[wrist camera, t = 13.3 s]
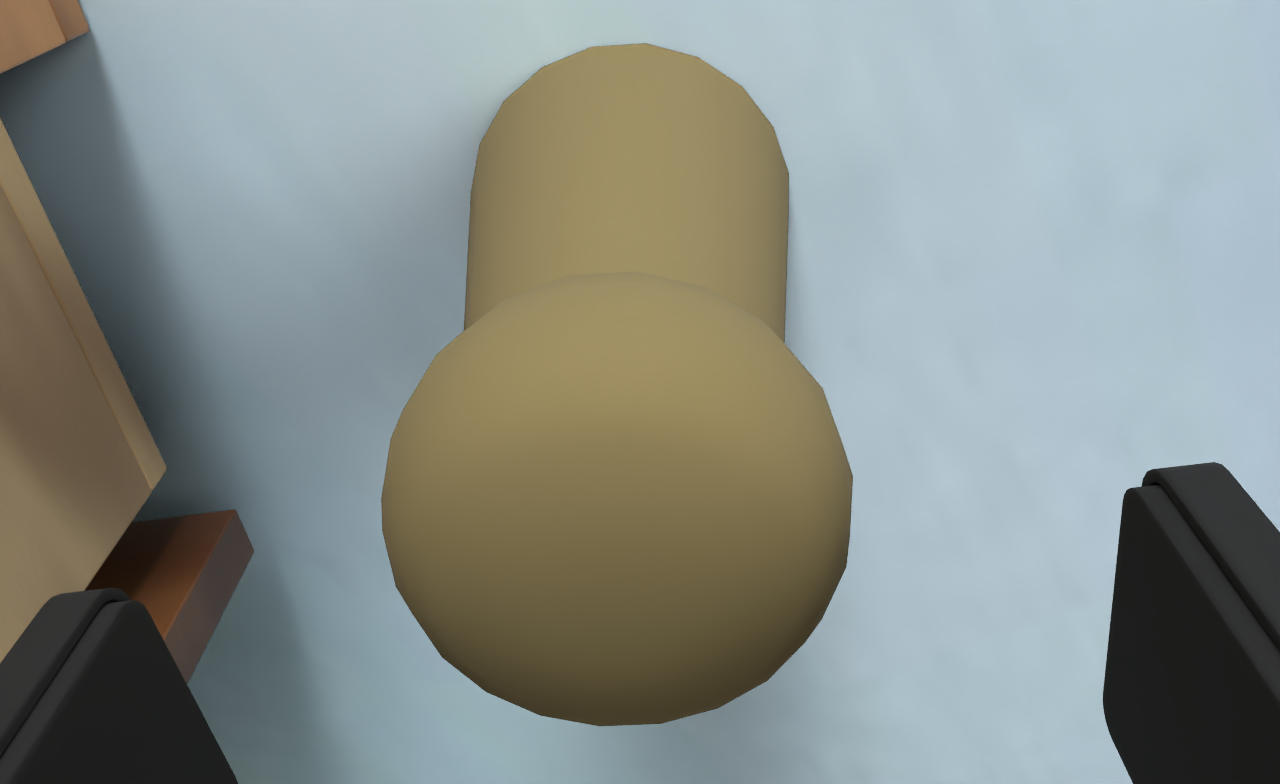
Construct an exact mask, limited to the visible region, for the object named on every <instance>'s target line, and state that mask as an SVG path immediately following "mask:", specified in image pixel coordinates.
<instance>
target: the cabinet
mask: <svg viewBox="0 0 1280 784" xmlns="http://www.w3.org/2000/svg"><path fill="white" fill-rule="evenodd" d="M87 32H89V26H88V24H87V21H86V19H85V16H84V14H83V11H82V9H81V7H80V4H79V2H78V0H0V74H1V73H3V72H6V71H8V70H10V69H12V68H14V67H16V66H18V65H21V64H23V63H25V62H27V61H29V60H31V59H33V58H35V57H38V56H40V55H42V54H44V53H46V52H48V51H50V50H53V49H55V48H57V47H59V46H61V45H63V44H65V43H67V42H69V41H71V40H73V39H75V38H77V37H79V36H81V35H84V34H86V33H87Z"/></svg>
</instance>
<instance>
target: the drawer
mask: <svg viewBox="0 0 1280 784" xmlns="http://www.w3.org/2000/svg"><path fill="white" fill-rule="evenodd" d="M166 471H167V467H166V465H165V462H164V460H163V458H162V456H161V454H160V452H159V450H158V448H157V446H156V444H155V441H154V439H153V437H152V435H151V433H150V431H149V429H148V427H147V425H146V423H145V420H144V418H143V416H142V414H141V412H140V410H139V408H138V406H137V404H136V402H135V399H134V397H133V395H132V393H131V391H130V389H129V387H128V385H127V383H126V381H125V378H124V376H123V374H122V372H121V370H120V368H119V366H118V364H117V362H116V360H115V357H114V355H113V353H112V351H111V349H110V347H109V345H108V343H107V341H106V339H105V336H104V334H103V332H102V330H101V328H100V326H99V324H98V322H97V320H96V318H95V315H94V313H93V311H92V309H91V307H90V305H89V303H88V301H87V299H86V297H85V294H84V292H83V290H82V288H81V286H80V284H79V282H78V280H77V278H76V276H75V273H74V271H73V269H72V267H71V265H70V263H69V261H68V259H67V257H66V255H65V252H64V250H63V248H62V246H61V244H60V242H59V240H58V238H57V236H56V234H55V231H54V229H53V227H52V225H51V223H50V221H49V219H48V217H47V215H46V213H45V210H44V208H43V206H42V204H41V202H40V200H39V198H38V196H37V194H36V192H35V189H34V187H33V185H32V183H31V181H30V179H29V177H28V175H27V173H26V171H25V168H24V166H23V164H22V162H21V160H20V158H19V156H18V154H17V152H16V150H15V147H14V145H13V143H12V141H11V139H10V137H9V135H8V133H7V131H6V129H5V126H4V124H3V122H2V120H1V118H0V663H1V661H2V660H3V659H4V657H5V656H6V655H7V653H8V652H9V651H10V649H11V648H12V647H13V645H14V644H15V643H16V641H17V640H18V639H19V637H20V636H21V634H22V633H23V632H24V630H25V629H26V628H27V626H28V625H29V624H30V622H31V621H32V620H33V618H34V617H35V616H36V614H37V613H38V612H39V610H40V609H41V608H42V606H43V605H44V604H45V603H46V602H47V601H48V600H49V599H50V598H51V597H53V596H56V595H58V594H62V593H71V592H79V591H88V590H97V589H106V588H117V589H120V590H122V591H123V592H125V593H127V595H128V596H129V597H130V599H131V600H133V601H139V602H141V603H142V604H144V606H145V607H146V609H147V610H148V611H149V613H150V615H151V617H152V619H153V621H154V623H155V625H156V627H157V629H158V631H159V632H160V634H161V636H162V638H163V640H164V642H165V644H166V646H167V648H168V650H169V651H170V653H171V655H172V657H173V659H174V661H175V663H176V665H177V667H178V669H179V670H180V672H181V674H182V676H183V678H184V680H185V682H186V684H188V682H189V680H190V678H191V676H192V674H193V672H194V670H195V668H196V666H197V664H198V662H199V660H200V658H201V656H202V654H203V652H204V650H205V648H206V646H207V644H208V642H209V640H210V638H211V636H212V634H213V632H214V630H215V628H216V626H217V624H218V622H219V620H220V619H221V617H222V615H223V613H224V611H225V609H226V607H227V605H228V603H229V601H230V599H231V597H232V595H233V593H234V591H235V589H236V587H237V585H238V583H239V581H240V579H241V577H242V575H243V573H244V571H245V569H246V567H247V565H248V563H249V561H250V559H251V557H252V555H253V553H254V549H253V547H252V544H251V542H250V540H249V538H248V535H247V533H246V531H245V529H244V526H243V524H242V522H241V520H240V517H239V515H238V513H237V511H236V510H226V511H218V512H210V513H202V514H194V515H186V516H178V517H170V518H161V519H153V520H145V521H137V522H132V521H133V519H134V518H135V516H136V515H137V514H138V512H139V511H140V509H141V508H142V506H143V505H144V503H145V502H146V500H147V499H148V497H149V496H150V495H151V491H152V490H153V489H154V488H155V487H156V485H157V484H158V482H159V481H160V480H161V478H162V477H163V475H164V474H165V472H166Z"/></svg>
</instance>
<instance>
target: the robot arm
mask: <svg viewBox="0 0 1280 784" xmlns="http://www.w3.org/2000/svg"><path fill="white" fill-rule="evenodd" d="M1103 707H1104V714H1105V719H1106V723H1107V726H1108V730H1109V733H1110V735H1111V738H1112V740H1113V742H1114V744H1115V746H1116V748H1117V750H1118V753H1119V755H1120V757H1121V759H1122V761H1123V763H1124V765H1125V767H1126V769H1127V772H1128V774H1129V776H1130V778H1131V780H1132V782H1133V784H1280V532H1279V531H1278V530H1277V529H1276V527H1275V526H1274V525H1273V524H1272V522H1271V521H1270V520H1269V519H1268V518H1267V516H1266V515H1265V514H1264V513H1263V512H1262V510H1261V509H1260V508H1259V507H1258V506H1257V504H1256V503H1255V502H1254V501H1253V500H1252V498H1251V497H1250V496H1249V495H1248V493H1247V492H1246V491H1245V490H1244V489H1243V487H1242V486H1241V485H1240V484H1239V483H1238V481H1237V480H1236V479H1235V478H1234V477H1233V475H1232V474H1231V473H1230V472H1229V471H1228V470H1227V469H1226V468H1225V467H1224V466H1223V465H1222V464H1219V463H1215V462H1212V463H1204V464H1195V465H1186V466H1177V467H1168V468H1160V469H1152V470H1150V471H1148V472H1147V473H1146V475H1145V477H1144V478H1143V482H1142V487H1136V488H1130V489H1128V490H1127V491H1126V493H1125V494H1124V499H1123V505H1122V515H1121V525H1120V534H1119V544H1118V554H1117V564H1116V573H1115V583H1114V593H1113V603H1112V612H1111V622H1110V632H1109V642H1108V651H1107V661H1106V671H1105V681H1104V691H1103ZM0 784H238V782H237V780H236V777H235V775H234V773H233V771H232V769H231V768H230V766H229V764H228V762H227V760H226V758H225V756H224V754H223V752H222V750H221V748H220V747H219V745H218V743H217V741H216V739H215V737H214V735H213V733H212V731H211V729H210V728H209V726H208V724H207V722H206V720H205V718H204V716H203V714H202V712H201V710H200V709H199V707H198V705H197V703H196V701H195V699H194V697H193V695H192V693H191V691H190V689H189V688H188V686H187V684H186V682H185V680H184V678H183V676H182V674H181V672H180V670H179V669H178V667H177V665H176V663H175V661H174V659H173V657H172V655H171V653H170V651H169V650H168V648H167V646H166V644H165V642H164V640H163V638H162V636H161V634H160V632H159V631H158V629H157V627H156V625H155V623H154V621H153V619H152V617H151V615H150V613H149V611H148V610H147V609H146V607H145V606H144V604H142V603H141V602H139V601H133V600H131V599H130V597H129V596H128V595H127V593H125V592H123V591H122V590H120V589H117V588H106V589H97V590H88V591H79V592H71V593H62V594H58V595H56V596H53V597H51V598H50V599H49V600H48V601H47V602H46V603H45V604H44V605H43V606H42V608H41V609H40V610H39V612H38V613H37V614H36V616H35V617H34V618H33V620H32V621H31V622H30V624H29V625H28V626H27V628H26V629H25V630H24V632H23V633H22V634H21V636H20V637H19V639H18V640H17V641H16V643H15V644H14V645H13V647H12V648H11V649H10V651H9V652H8V653H7V655H6V656H5V657H4V659H3V660H2V661H1V663H0Z"/></svg>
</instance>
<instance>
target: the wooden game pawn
mask: <svg viewBox="0 0 1280 784" xmlns="http://www.w3.org/2000/svg"><path fill="white" fill-rule="evenodd" d="M788 209H789V172H788V169H787V166H786V163H785V161H784V158H783V155H782V152H781V149H780V146H779V143H778V140H777V137H776V134H775V131H774V128H773V126H772V125H771V123H770V122H769V121H768V119H767V118H766V117H765V115H764V114H763V113H762V112H761V110H760V109H759V108H758V106H757V105H756V104H755V103H754V101H753V100H752V99H751V97H750V96H749V95H748V93H747V92H746V91H745V90H744V88H743V87H742V86H741V85H739V84H738V83H736V82H735V81H733V80H732V79H730V78H729V77H727V76H726V75H724V74H723V73H721V72H720V71H718V70H717V69H715V68H714V67H712V66H711V65H709V64H708V63H706V62H704V61H703V60H701V59H700V58H698V57H695V56H692V55H688V54H684V53H680V52H676V51H673V50H669V49H665V48H661V47H658V46H654V45H650V44H646V43H645V44H629V45H614V46H598V47H591V48H588V49H586V50H583V51H581V52H578V53H576V54H574V55H571V56H569V57H566V58H564V59H561V60H559V61H557V62H554V63H552V64H549V65H547V66H544V67H542V68H541V69H540V70H539V71H538V72H537V73H536V74H534V75H533V76H532V77H531V78H530V79H529V80H528V81H526V82H525V83H524V84H523V85H522V86H521V87H520V88H519V89H517V90H516V91H515V92H514V93H513V94H512V95H511V96H509V97H508V98H507V99H506V100H505V101H504V102H503V104H502V106H501V107H500V109H499V111H498V113H497V115H496V116H495V118H494V120H493V122H492V123H491V125H490V127H489V129H488V131H487V132H486V134H485V136H484V138H483V139H482V141H481V143H480V145H479V150H478V156H477V161H476V167H475V173H474V178H473V184H472V189H471V202H470V221H469V241H468V261H467V281H466V301H465V320H464V332H463V333H461V334H460V335H459V336H457V337H456V338H455V339H454V340H453V341H452V342H451V343H449V344H448V345H447V346H446V347H445V348H444V349H443V350H442V351H441V352H439V353H438V354H437V355H436V356H435V358H434V360H433V361H432V363H431V365H430V366H429V368H428V369H427V371H426V373H425V374H424V376H423V378H422V379H421V381H420V383H419V384H418V386H417V388H416V389H415V391H414V392H413V394H412V396H411V397H410V399H409V401H408V402H407V404H406V406H405V407H404V409H403V411H402V413H401V416H400V418H399V421H398V423H397V425H396V428H395V430H394V432H393V435H392V437H391V441H390V447H389V454H388V460H387V466H386V473H385V479H384V485H383V492H382V498H381V502H382V531H383V535H384V539H385V543H386V548H387V552H388V556H389V560H390V564H391V568H392V572H393V576H394V580H395V584H396V588H397V589H398V591H399V592H400V594H401V596H402V597H403V599H404V601H405V602H406V604H407V606H408V607H409V609H410V611H411V612H412V614H413V615H414V617H415V618H416V620H417V621H418V623H419V624H420V626H421V627H422V629H423V630H424V631H425V633H426V634H427V636H428V637H429V639H430V640H431V642H432V643H433V645H434V646H435V648H436V649H437V651H438V652H439V653H440V655H441V656H442V658H444V659H445V660H446V661H448V662H449V663H450V664H451V665H453V666H454V667H455V668H456V669H458V670H459V671H460V672H462V673H463V674H464V675H465V676H467V677H468V678H469V679H470V680H472V681H473V682H474V683H475V684H477V685H478V686H479V687H481V688H482V689H483V690H484V691H486V692H487V693H490V694H492V695H494V696H497V697H499V698H501V699H504V700H506V701H508V702H511V703H513V704H515V705H518V706H520V707H522V708H524V709H527V710H529V711H531V712H534V713H536V714H538V715H541V716H547V717H552V718H558V719H563V720H569V721H574V722H580V723H585V724H591V725H596V726H616V725H642V724H661V723H665V722H669V721H672V720H676V719H680V718H684V717H687V716H691V715H695V714H699V713H702V712H706V711H710V710H713V709H717V708H719V707H721V706H723V705H725V704H726V703H728V702H730V701H732V700H734V699H735V698H737V697H739V696H741V695H742V694H744V693H746V692H748V691H750V690H751V689H753V688H755V687H757V686H759V685H760V684H762V683H764V682H766V681H767V680H768V679H769V678H770V677H771V676H772V675H773V674H774V673H775V672H776V671H777V670H778V669H779V668H780V667H781V666H782V665H783V664H784V663H785V662H786V661H787V660H788V659H789V658H790V657H791V656H792V655H793V654H794V653H795V652H796V651H797V650H798V649H799V648H800V647H801V646H802V645H803V644H804V643H805V642H806V640H807V639H808V637H809V636H810V635H811V633H812V632H813V631H814V629H815V628H816V626H817V625H818V624H819V622H820V621H821V619H822V618H823V616H824V613H825V611H826V609H827V607H828V605H829V603H830V601H831V598H832V596H833V594H834V592H835V590H836V588H837V586H838V583H839V581H840V579H841V577H842V575H843V573H844V571H845V568H846V564H847V556H848V547H849V538H850V522H851V503H852V483H853V475H852V472H851V469H850V466H849V463H848V460H847V456H846V453H845V450H844V447H843V444H842V441H841V438H840V436H839V433H838V430H837V427H836V424H835V422H834V419H833V416H832V413H831V410H830V408H829V405H828V402H827V399H826V396H825V394H824V391H823V388H822V387H821V386H820V385H819V383H818V382H817V381H816V380H815V379H814V378H813V376H812V375H811V374H810V373H809V372H808V371H807V369H806V368H805V367H804V366H803V365H802V364H801V362H800V361H799V360H798V359H797V358H796V357H795V355H794V354H793V353H792V352H791V351H790V350H789V348H788V347H787V346H786V345H785V344H784V340H785V310H786V279H787V248H788Z"/></svg>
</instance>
